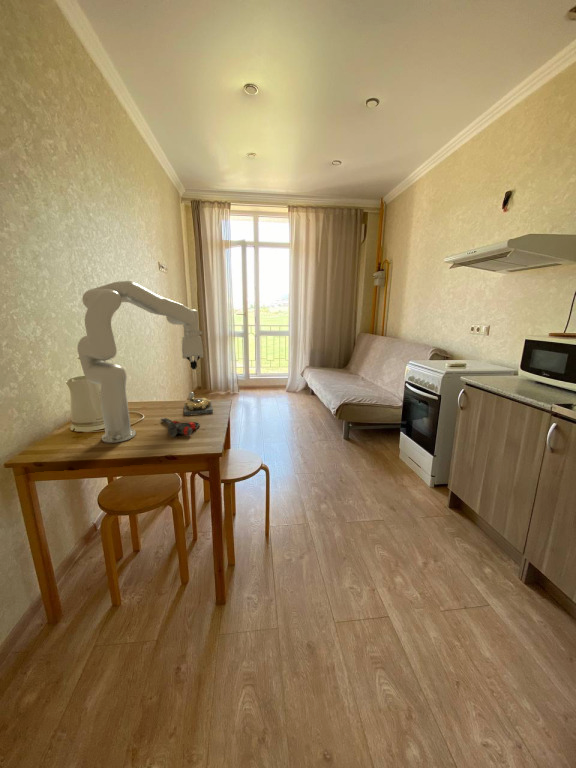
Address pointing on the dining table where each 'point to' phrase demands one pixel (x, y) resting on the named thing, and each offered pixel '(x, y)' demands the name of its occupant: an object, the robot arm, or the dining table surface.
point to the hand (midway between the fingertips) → (193, 368)
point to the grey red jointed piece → (180, 427)
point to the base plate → (198, 410)
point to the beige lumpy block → (197, 402)
